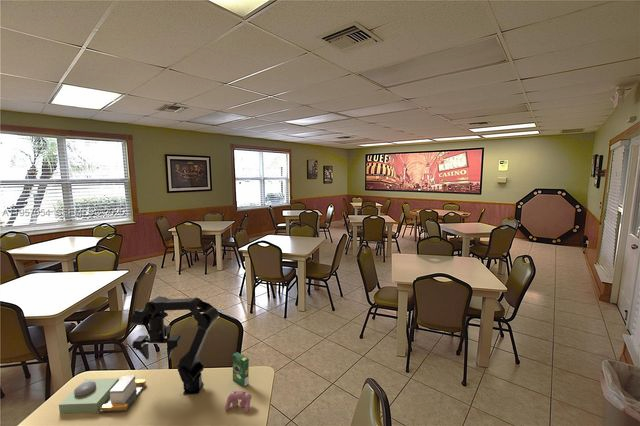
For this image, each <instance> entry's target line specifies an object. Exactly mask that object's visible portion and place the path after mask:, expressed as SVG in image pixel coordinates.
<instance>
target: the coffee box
mask: <svg viewBox="0 0 640 426" xmlns="http://www.w3.org/2000/svg"><path fill="white" fill-rule="evenodd" d="M249 360H250V359H249V357H247V356H245V355H243V354H242V353H240V352H238V351H236V352H235V353H233V354H232V381H234V382H235V383H237V384H238V385H240V386H241V385H242V387H243V386H244V387H243V388H245V387H246V386H248V385H249V369H250V368H249ZM247 384H248V385H247Z"/></svg>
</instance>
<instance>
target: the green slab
mask: <svg viewBox="0 0 640 426" xmlns="http://www.w3.org/2000/svg"><path fill="white" fill-rule="evenodd" d="M119 380H120V378H119V377H118V378H117V377H115V378H113V377H111V378H110V377H109V378H85V379H84V380H83V381H82V382H81V383H79V384H78V385H77V386H76V387H75V388H74V389H73V390H72V391H71V392H70V393H69V394H68V395H67V396H66V397H65V398H64V399H63V400H62V401H61V402H60V403H59V404H58V409H59V410H58V411H59V414H60V415H63V414H86V413H87V414H88V413H91V414H92V413H99V411H100V409H101V408H102V406H103V405H104V404H105V403H106V402H107V401H108V400H109V399H110V390H111V389H112V388H113V387H114V386H115V385H116V383H117V382H118V381H119Z"/></svg>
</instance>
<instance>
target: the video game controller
mask: <svg viewBox="0 0 640 426" xmlns="http://www.w3.org/2000/svg"><path fill="white" fill-rule="evenodd" d="M239 400H240V402H239ZM251 400H252V395H251V393H249V392H247V391H245V390H235V391H231V392H230V393H229V394H228V396H227V399H226V402H225V406H224V411H225V412H227V411H228V410H229V408H230V406H231V405H232V406H233V407H234V408H235V407H237V406H238V405H239V406H240V408H244V412H245V413H246V414H248V412H249V410H250V406H251Z"/></svg>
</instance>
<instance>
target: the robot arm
mask: <svg viewBox="0 0 640 426" xmlns="http://www.w3.org/2000/svg"><path fill="white" fill-rule="evenodd" d="M200 309H201V310H204V312H202V313H201V312H200V311H199V310H200ZM184 310H185V311H186V310H188V311H190V312H191V315H192V317H193V318H194V320H195V321H196V322H197V324H196V326H197V331H196V332H195V336H194V338H193V341H192V343H191V345H190V346H189V347H190V348H189V350H188V351H187V352H186V353H185V354H184V355H183V356H182V357H181V358H180V359H179V361H178V362H179V363H178V365H177V366H176V367H177V372H178V374H179V378H180V380H181V382H182V383H183V385H182V387H183V390H184V391H182V392H183V393H182V394H183V395H195V394H196V395H197V394H199V393H200V392H201V389H202V387H203V385H204V382H203V379H202V371H204V369H205V366H204V365H203V364H202V362H201V361H200V359H201V358H200V353H201V350H202V348H203V346H204V343H205V341H206V338H207V336H208V333H209V332H210V329H211V328H212V327H213V325H214V324H215V323H216V321H217V320H218V319H219V316H220V312H219V311H218V309H217V308H216V307H215V306H213V305H212V304H211V303H209V302H206V301H205V300H204V301H203V300H202V299H201V298H199V297H197V296H196V297H191V298H189V297H187V298H168V297H166V296H161V295H160V296H156V297H154V298H152V299H151V300H149V301H148V302H146V303H145V307H144V309H143V308H142V309H141V308H136V309H134V310H133V314H132V316H131V317H130V318H131V319H130V323H131V324H132V325H135V326H143V327H146V326H148V331H147V335H146V334H145V335H139V336H138V337H137V338H135V339H134V340H133V341H132V344H131V346H132V347H131V348H132V349H135V350H136V351H138V352H139V353H140V354H141V355H142V356H143V357H144V358H145V359H146V361H148V360H149V359H150V352H149V344H151V345H152V344H153V345H154V344H156V345H158V344H166V346H167V348H166V352H167V353H166V354H167V359H168V360H170V359H171V357H172V354H173V350H174V349H175V348H178V346H179V345H180V343H181V342H182V340H183V338H182V337H183V336H182V335H181V334H171V336H170V337H168V334H170V333H171V325H166V324H165V318H167V317H168V316H169V313H167V311H184ZM148 335H149V336H148Z"/></svg>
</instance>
